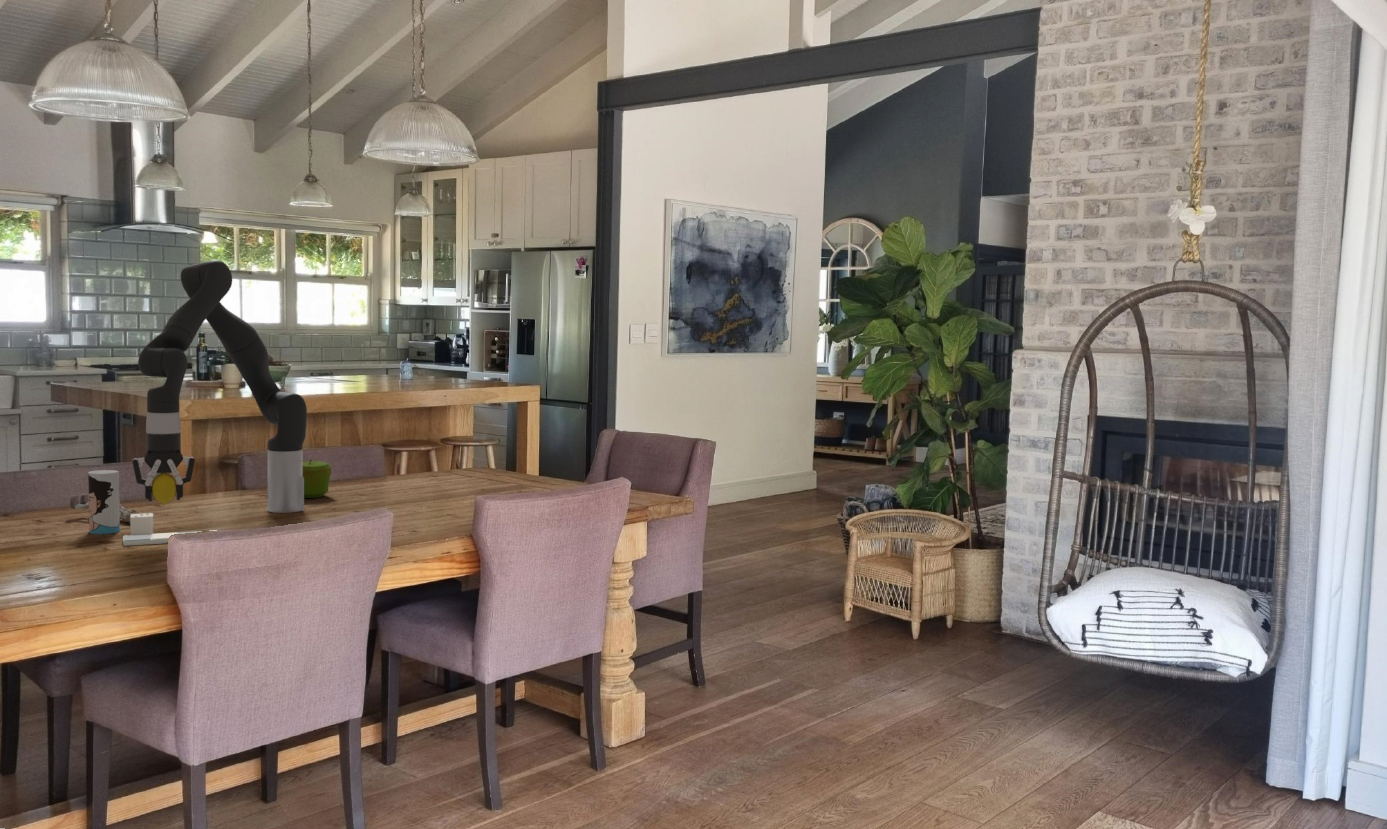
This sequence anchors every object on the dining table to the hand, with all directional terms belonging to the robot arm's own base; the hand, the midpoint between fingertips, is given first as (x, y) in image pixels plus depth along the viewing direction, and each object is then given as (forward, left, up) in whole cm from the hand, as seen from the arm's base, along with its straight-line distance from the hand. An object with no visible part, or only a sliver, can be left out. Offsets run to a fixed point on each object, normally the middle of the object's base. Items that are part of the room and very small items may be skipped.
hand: (164, 500), depth 273 cm
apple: (-42, -55, -10) cm, 70 cm away
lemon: (0, 0, -1) cm, 1 cm away
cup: (+13, -16, -10) cm, 23 cm away
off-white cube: (+5, -9, -10) cm, 14 cm away
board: (-3, 0, -10) cm, 10 cm away
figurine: (+12, -32, -10) cm, 35 cm away
